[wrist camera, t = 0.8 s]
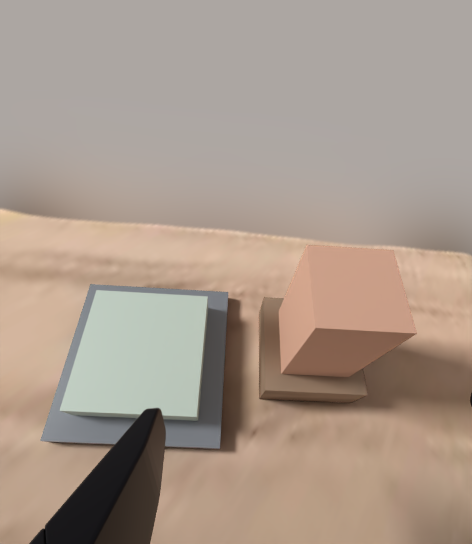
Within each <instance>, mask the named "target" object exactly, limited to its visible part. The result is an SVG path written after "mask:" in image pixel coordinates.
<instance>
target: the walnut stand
mask: <svg viewBox="0 0 472 544" xmlns="http://www.w3.org/2000/svg"><path fill="white" fill-rule="evenodd" d="M283 300H284V298H267V297H264V299H263V302H262V306H261V309H260V312H259V399H277V400H299V401H320V402H341V403H351V402H353V401H355V400H358V399H360V398H362V397H364V396H367V395H368V394H367V389H366V383H365V378H364V372H363V368H362V369H361V370H359V371H358V372H356V373H354V374H353V375H351V376H350V377H334V376H314V375H294V374H281V355H280V331H279V309H280V307H281V305H282V302H283Z"/></svg>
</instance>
